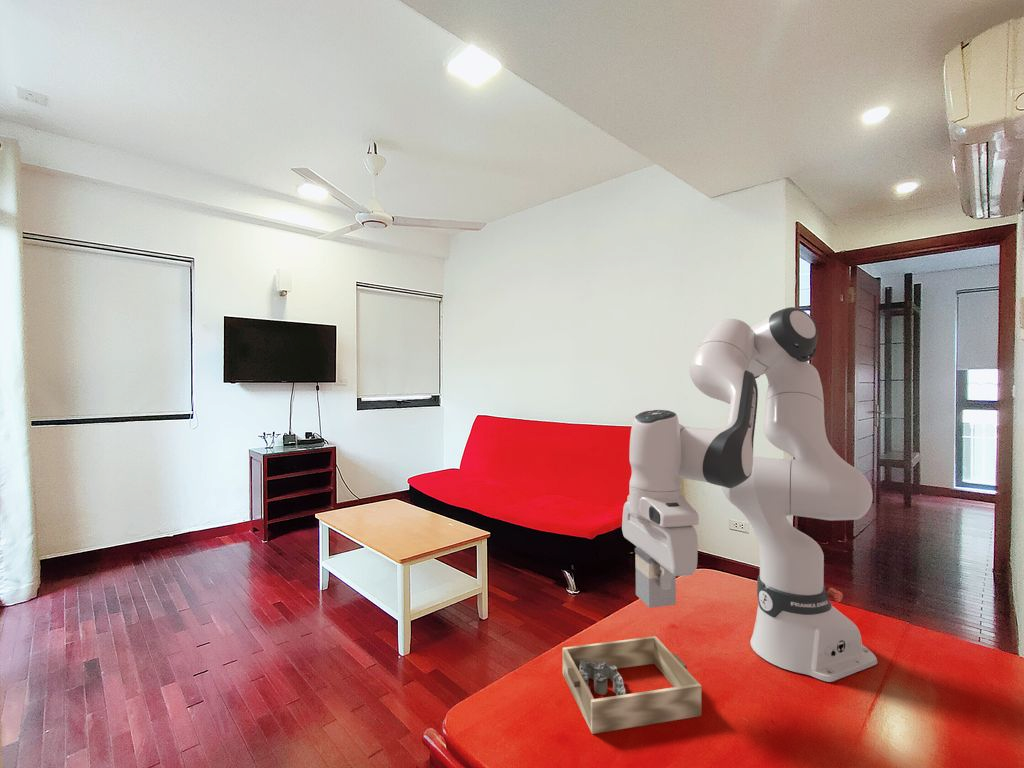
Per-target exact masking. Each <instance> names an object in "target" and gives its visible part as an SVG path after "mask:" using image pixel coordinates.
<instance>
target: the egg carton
mask: <svg viewBox="0 0 1024 768" xmlns="http://www.w3.org/2000/svg"><path fill="white" fill-rule="evenodd" d="M579 672H580V674H581V676H582V678H583V679H584V681H585V683H586V685H587V687H588V689H589V690H590V692H591V693H592V691H591V686H589V680H590V679H591V680H592V681H593V690H594V692H595V693H596V694H598V695H600V696H601V695H602V696H604V695H606V694H607V693H608V679H609V680H610V681H611V682H612V690H613V692H614V694H615V695H616V696H619V695H625V694H627V693H626V688H625V684H624V680H623V677H622V675H621V674H620V673H619V672H618V669H617V667H616V666H615V665H612V666H607V665H606V663H603V664H600V663H595V662H592V661H591V662H590V663H588V662H586V661H583V660H580V668H579Z"/></svg>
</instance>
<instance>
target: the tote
mask: <svg viewBox="0 0 1024 768" xmlns="http://www.w3.org/2000/svg"><path fill="white" fill-rule="evenodd" d="M580 660H583V661H586V662H588V663H590V662H591V661H592V662H595V663H600V664H603V663H606V665H607V666H612V665H615V666H616V667H617V670H618V669H624V668H631V667H638V666H646V665H655V667H656V668H657V669H658V671H659V672H661V674H662V675H663V676H664V677H665V678H666V680H667V682H669V683H670V685H671V686H672V687H666V688H661V689H660V688H659V689H655V690H654V689H653V690H648V691H641V692H640V691H639V692H634V693H626V694H625V695H619V696H617V695H613V696H606V697H601V698H600V697H599V698H594V696H593V694H592V691H591V689H590V690H589V689H588V687H587V685H586V683H585V681H584V679H583V678H582V676H581V674H580V672H579V668H580ZM562 675H563V678H564V679H565V682H566V683H567V686H568V688H569V690H570V692H571V694H572V695H573V699H574V700H575V702H576V704H577V707H578V708H579V710H580V712H581V715H582V717H583V718H584V720H585V722H586V724H587V726H588V728H589V731H590V733H591V734H592V735H594V734H600V733H606V732H611V731H612V732H613V731H619V730H623V729H630V728H636V727H643V726H648V725H654V724H660V723H667V722H673V721H678V720H685V719H691V718H696V717H702V685H701V683H699V681H698V680H697V679H696V678H695V677H694V676H693V675H692V674H691V672H689V671H688V670H687V665H686V664H685V662H684V661H683V660H682V659H681V658H680V657H679V655H677V653H673V654H672V652H671V651H670V650H669V649H668V648H667V647H666V646H665V644H664V643H663V642H662V641H661V640H660V639H659V637H657V636H656V635H653V636H646V637H636V638H630V639H623V640H613V641H606V642H597V643H589V644H581V645H573V646H566V647H565V646H563V647H562ZM590 691H591V692H590Z"/></svg>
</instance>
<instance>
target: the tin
mask: <svg viewBox="0 0 1024 768" xmlns="http://www.w3.org/2000/svg"><path fill="white" fill-rule="evenodd" d="M634 553H635V558H634V559H635V563H634V564H635V566H634V567H635V596H637V597H638V599H640V601H642V602H643V603H644V604H645V606H646V607H648V608H649V609H650V608H658V607H661V608H662V607H669V606H676V605H677V598H676V597H677V596H676V595H677V594H676V592H677V591H676V589H677V588H676V587H677V586H676V582H677V579H676V577H677V576H675V575H674V576H673V577H672V579H671V588H670V589H669V590H663V589H661V588H660V587H659V586H658V584H657V583H658V580H657V576H660V575H661V572H662V570H661V569H660V564H659V563H658V562H656V561H655V560H654V559H653V558H652V557H651V556H649V555H648V554H647V553H645V552H644V551H643V550H641V549H640V548H636V547H634Z"/></svg>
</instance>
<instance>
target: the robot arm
mask: <svg viewBox="0 0 1024 768" xmlns="http://www.w3.org/2000/svg"><path fill="white" fill-rule="evenodd" d="M817 344H818V328H817V324H816V322H815V320H814V319H813V317H811V315H810V314H809V313H807V312H806V311H804V310H802V309H799V308H797V307H794V306H791V307H786V308H783V309H780V310H777V311H775V312H773V313H772V314H770V316H768V317H765V318H763V319H762V320H760V321H759V322H757V323H755V324H753V325H751V326H750V325H749V324H748V323H746V322H744V321H743V320H740V319H736V318H727V319H726V318H725V319H723V320H720V321H719V322H717V323H715V325H714V326H712V327H711V328H710V330H709V331H708V332H707V333H706V334H705V336H704V337H703V339H702V341H701V342H700V343H699V345H698V347H697V349H696V351H695V353H694V355H693V356H692V358H691V361H690V364H689V376H690V378H691V381H692V383H693V384H694V386H695V387H696V388H697V389H698V390H699V391H700V392H701V393H702V394H704V395H705V396H706V397H709V398H711V399H713V400H714V399H715V400H719V401H721V402H723V403H726V404H728V405H729V408H728V415H727V422H726V425H725V426H724V425H723V426H722V427H719V428H702V427H700V428H699V427H690V426H684V425H683V424H682V423H681V424H680V422H679V418H678V415H677V413H676V412H675V411H672V410H668V409H667V410H666V409H653V410H646V411H642V412H639V413H638V414H636V415H635V416H634V417H633V420H632V424H631V429H630V437H629V459H628V460H629V464H630V467H631V474H630V475H631V476H630V479H629V483H628V484H629V489H628V490H629V492H628V493H629V494H628V495H627V498H626V499H627V500H626V502H625V503H624V504H623V509H622V510H623V511H622V522H621V531H622V535H623V537H624V539H626V540H627V541H628V542H630V543H631V544H633V545H634V546H635V548H640V549H641V550H643V551H644V552H645V553H647V554H648V555H649V556H651V557H652V558H653V559H654V560H655V561H656V562H658V563H659V564H660V569H661V570H662V572H661V575H660V576H657V580H658V583H657V584H658V586H659V587H660V588H661V589H663V590H669V589H670V588H671V579H672V577H673V576H674V575H675V576H676V577H683V576H685V577H686V576H692V575H693V574H695V572H696V570H697V568H698V551H699V550H698V548H699V547H698V546H699V545H698V542H699V541H698V534H697V530H696V529H695V526H698V524H699V519H700V518H699V513H698V512H697V511H696V509H695V508H694V507H693V506H691V505H692V504H690V503H689V502H688V501H687V499H686V497H685V496H684V495H683V494H682V483H681V480H680V478H681V479H685V480H690V481H691V480H692V481H698V482H704V483H709V484H711V485H714V486H719V487H721V489H722V492H723V495H725V497H726V499H727V500H728V501H729V502H730V503H731V504H732V505H734V507H736V508H737V509H738V510H739V511H740V512H741V513H742V514H743V515H744V517H746V519H747V521H748V522H749V524H750V526H751V527H752V529H753V531H754V534H755V536H756V540H757V545H758V547H757V548H758V553H759V554H758V556H759V557H758V558H759V574H758V576H757V580H756V581H757V583H756V586H757V587H756V594H757V601H758V603H757V604H758V605H757V610H756V618H755V623H754V626H753V631H752V635H751V638H750V641H749V642H750V647H751V649H752V650H753V651H754V652H755V653H756V654H757V655H758V656H759V657H761V658H762V659H763V660H765V662H766V661H767V662H768V663H770V664H772V665H774V666H776V667H778V668H781V669H784V670H788V671H791V672H794V673H796V674H797V673H798V674H803V675H807V676H811V677H813V678H815V679H818V680H820V681H823V682H827V683H831V682H835V681H838V680H840V679H843V678H845V677H847V676H850V675H853V674H856V673H857V672H861V671H864V670H866V669H868V668H869V669H870V668H871V667H873V666H876V665H878V659H877V657H876V655H875V654H874V653H873V652H872V651H871V650H870V649H869V648H868V647H867V646H865V645H864V644H863V642H862V635H861V632H860V630H859V628H858V626H857V625H856V624H855V623H854V621H852V620H851V619H850V618H848V616H846V615H844V614H843V613H842V612H841V611H839V610H838V609H837V608H836V607H835V606H834V605H832V603H831V599H832V600H833V601H835V602H838V603H839V602H841V601H842V600H843V597H844V595H843V593H842V591H839V590H837V589H836V588H834V587H829V588H827V587H826V585H824V584H825V583H824V582H825V580H824V579H825V578H824V574H825V571H824V569H825V568H824V567H825V561H824V560H825V558H824V557H825V555H824V552H823V550H822V547H821V546H820V544H818V542H817V541H816V540H814V538H812V537H811V536H809V535H807V534H806V533H804V532H802V530H801V531H800V530H799V529H797V528H796V527H794V526H793V525H792V524H791V523H790V521H789V520H788V518H787V516H797V517H802V518H811V519H816V520H817V519H818V520H823V521H854V520H855V521H857V520H860V519H861V518H863V517H864V516H865V515H866V514H867V513H868V512H869V510H870V508H871V507H872V504H873V499H874V498H873V497H874V496H873V495H874V494H873V488H872V486H871V485H872V484H870V481H869V479H868V477H867V476H866V475H865V474H864V473H862V471H861V470H860V469H858V468H856V467H854V466H852V465H851V464H850V463H848V462H847V461H845V460H844V459H843V457H841V456H840V455H839V454H838V453H837V452H836V451H835V450H834V448H833V446H832V445H831V444H830V442H829V439H828V436H827V432H826V426H825V400H824V399H825V398H824V391H823V386H822V381H821V377H820V373H819V371H818V370H817V368H816V367H815V366H814V365H812V363H810V362H809V361H810V360H812V359H813V358H814V357H815V355H816V352H817V347H816V346H817ZM762 375H765V376H766V379H767V382H768V385H767V386H768V387H767V391H766V396H765V397H766V398H765V407H764V424H763V425H764V426H763V433H764V435H765V438H766V439H767V440H768V442H770V443H771V444H772V445H773V446H774V447H775V448H777V449H778V450H780V451H783V452H785V453H787V454H788V455H790V456H792V458H793V459H787V458H785V459H784V458H775V457H761V456H759V457H758V456H754V440H755V439H754V437H755V430H756V421H757V413H758V412H757V411H758V410H757V409H758V398H759V394H758V393H759V389H758V383H757V380H756V379H758V378H759V377H761V376H762Z"/></svg>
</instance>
